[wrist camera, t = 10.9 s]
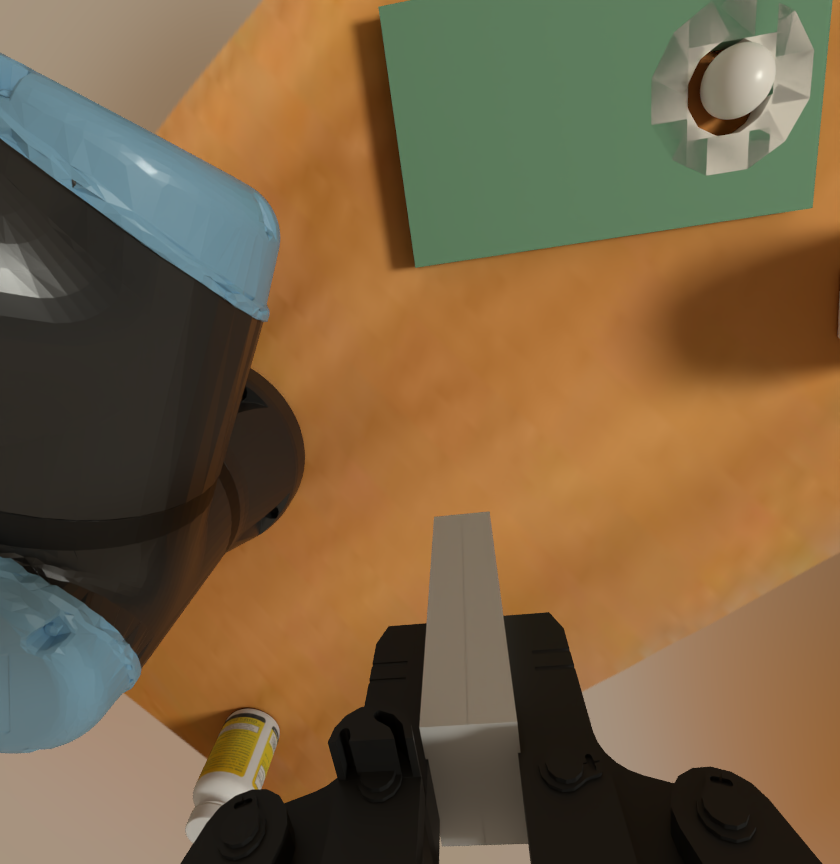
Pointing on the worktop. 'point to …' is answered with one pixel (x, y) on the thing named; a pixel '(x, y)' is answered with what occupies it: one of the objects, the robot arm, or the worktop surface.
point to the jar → (839, 319)
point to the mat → (591, 119)
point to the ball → (737, 80)
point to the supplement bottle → (233, 764)
